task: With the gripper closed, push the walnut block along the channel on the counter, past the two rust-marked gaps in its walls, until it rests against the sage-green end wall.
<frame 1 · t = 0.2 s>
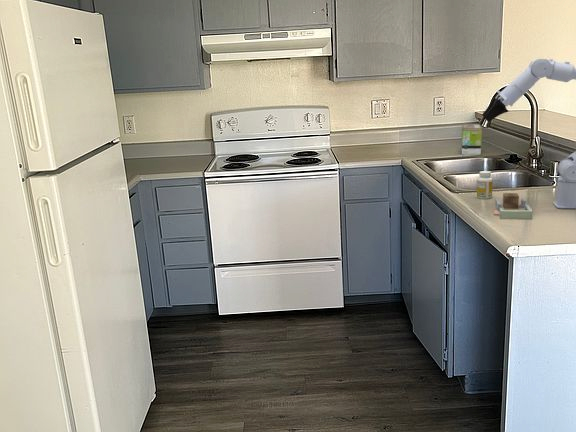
hand: (485, 118, 191), 30 cm above the worktop, tool tilted 45°, fingers open, 7 cm apart
supplement bottle: (484, 198, 209), on the worktop
tea box: (470, 153, 305), on the worktop
walnut block: (510, 207, 194), on the worktop
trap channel: (512, 211, 189), on the worktop
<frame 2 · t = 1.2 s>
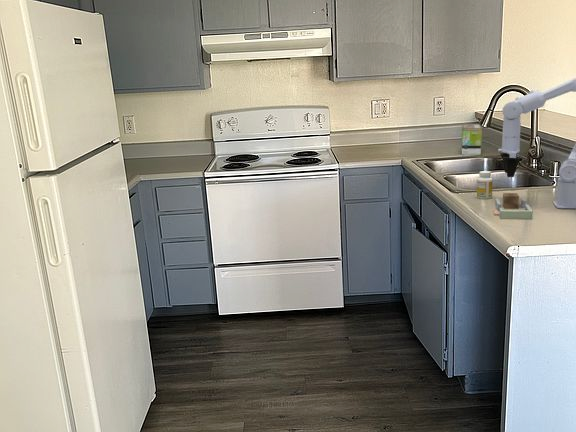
hand: (509, 174, 198), 10 cm above the worktop, tool pointing down, fingers open, 7 cm apart
nothing on the worktop moved.
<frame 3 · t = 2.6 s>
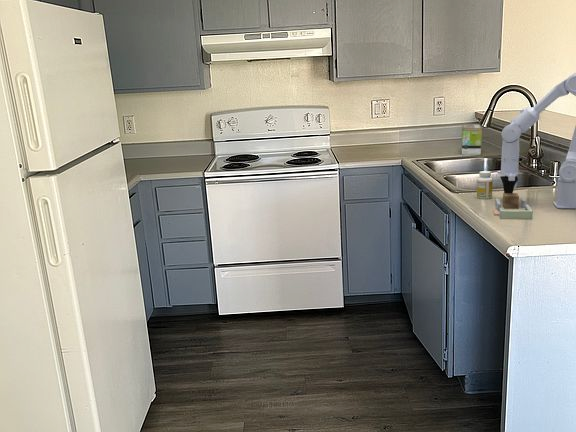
hand: (508, 196, 200), 2 cm above the worktop, tool pointing down, fingers closed
nothing on the worktop moved.
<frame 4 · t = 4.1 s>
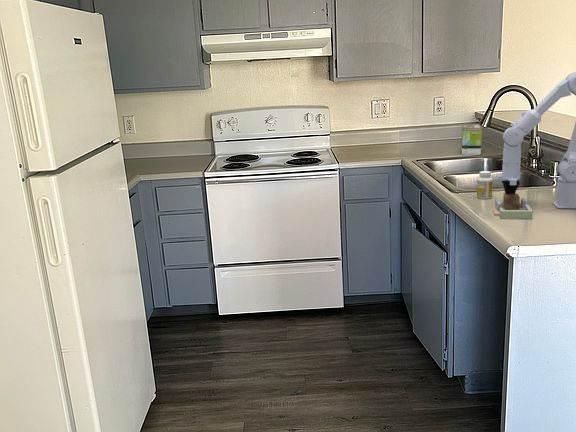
hand: (509, 201, 196), 1 cm above the worktop, tool pointing down, fingers closed
walnut block: (510, 207, 193), on the worktop, touching gripper
everything else where it was.
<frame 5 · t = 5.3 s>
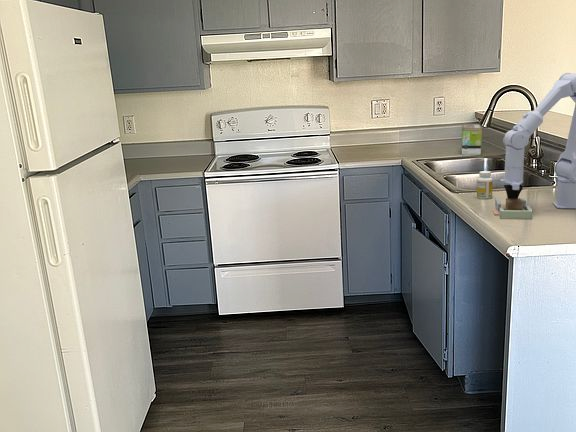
hand: (512, 206, 190), 1 cm above the worktop, tool pointing down, fingers closed
walnut block: (513, 213, 187), on the worktop, touching gripper
everything else where it was.
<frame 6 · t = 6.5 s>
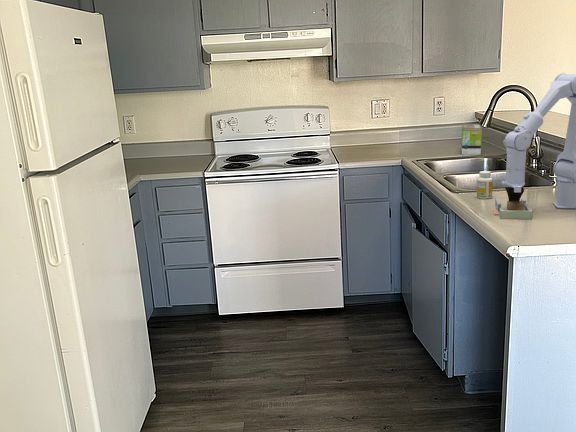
hand: (513, 208, 186), 1 cm above the worktop, tool pointing down, fingers closed
walnut block: (514, 215, 183), on the worktop, touching gripper
everything else where it was.
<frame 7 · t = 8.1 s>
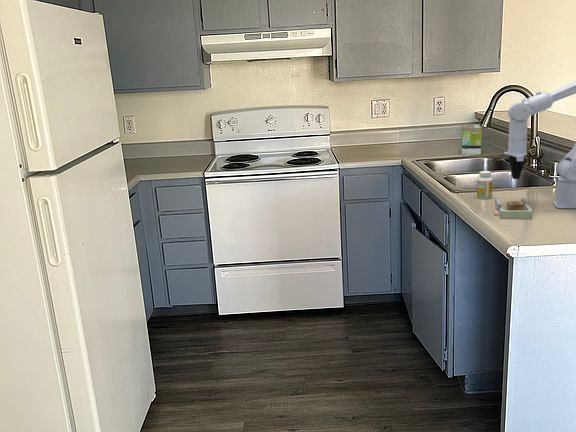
hand: (515, 178, 192), 10 cm above the worktop, tool pointing down, fingers closed
walnut block: (515, 216, 183), on the worktop
everything else where it was.
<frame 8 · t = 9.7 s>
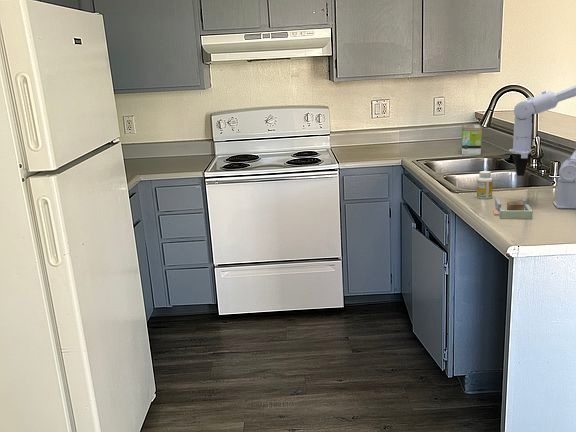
hand: (520, 175, 196), 10 cm above the worktop, tool pointing down, fingers closed
nothing on the worktop moved.
at the end: walnut block 0.4 cm from the target spot, on the worktop; walnut block tilted 0° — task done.
